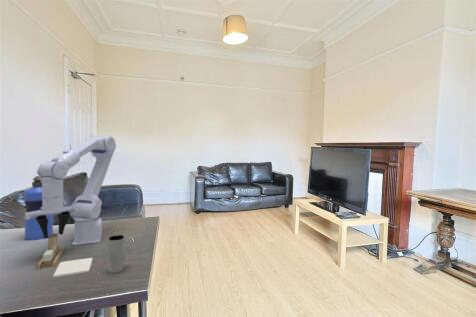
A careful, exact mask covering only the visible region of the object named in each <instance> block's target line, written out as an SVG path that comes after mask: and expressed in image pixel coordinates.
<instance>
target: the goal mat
mask: <svg viewBox="0 0 476 317" xmlns="http://www.w3.org/2000/svg"><path fill="white" fill-rule="evenodd" d="M93 259H94V258H93V257H88V258H81V259H80V258H79V259H73V260H66V261H60V263H59V264H58V265H57V268H56V270H55V272H54V273H53V276H52V278H60V277H67V276H73V275H79V274H85V273H89V272H90V271H91V270H90V269H91V266H92V262H93Z"/></svg>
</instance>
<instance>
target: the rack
mask: <svg viewBox="0 0 476 317" xmlns="http://www.w3.org/2000/svg"><path fill="white" fill-rule="evenodd" d="M65 247H66V246H64V245H63V246H61V248H60V249H59V250H58V254H57V255H56V257H55V259H54V260H53V262H52V265H51V268H55V267H56V265H57V264H58V262H59V260H60V258H61V256H63V253H64V251H65ZM42 267H43V256H42V258H41V259H40V260H39V262H38V263H37V264H36V270H40V269H41V268H42Z"/></svg>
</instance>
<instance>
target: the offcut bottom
mask: <svg viewBox="0 0 476 317" xmlns="http://www.w3.org/2000/svg"><path fill="white" fill-rule="evenodd" d="M53 260H54V256H53V258H52V260H51V261H44V262H43V265H42V268H48V267H52V262H53Z"/></svg>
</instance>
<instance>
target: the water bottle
mask: <svg viewBox="0 0 476 317" xmlns="http://www.w3.org/2000/svg"><path fill="white" fill-rule="evenodd" d="M31 186H32V187H30V188H29V189H27V190H25V191H23V200H24V205H25V213H27V212H32V211H37V210H41V209H42V183H41V179H40V177H39V175H37V176H35V177H34V178H33V179H32V182H31ZM53 216H54V215H49V216H46V217H47V219H48V225H47V231H48V238H49V237H50V235H51V234H54V226H53V225H54V217H53ZM42 239H45V238H44V237H43V232H42V229H41V227H40V225H39V223H38V222H37V220H36V219H35V218H31V219H28V220H26V219H25V218H24V240H26V241H36V240H37V241H39V240H42Z"/></svg>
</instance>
